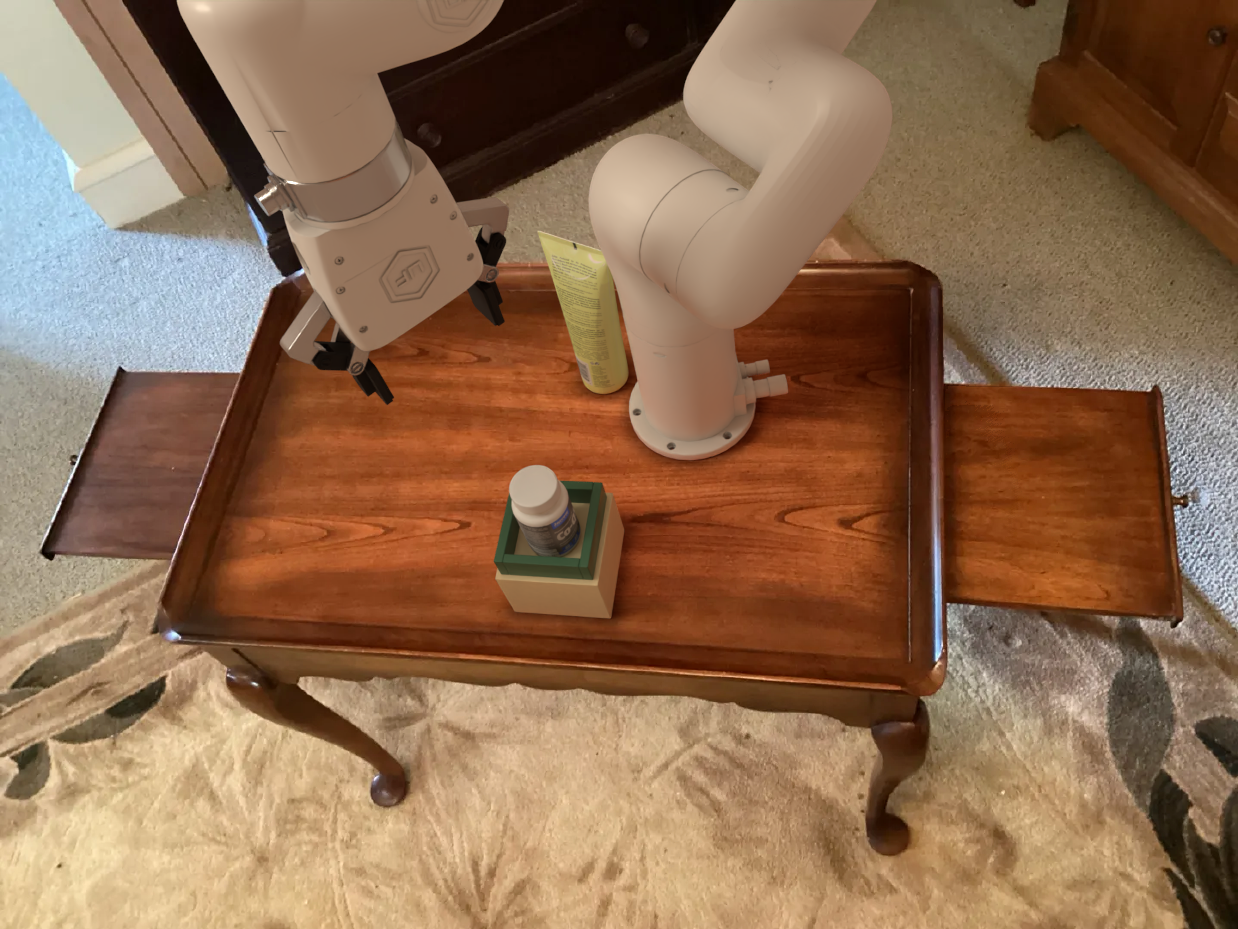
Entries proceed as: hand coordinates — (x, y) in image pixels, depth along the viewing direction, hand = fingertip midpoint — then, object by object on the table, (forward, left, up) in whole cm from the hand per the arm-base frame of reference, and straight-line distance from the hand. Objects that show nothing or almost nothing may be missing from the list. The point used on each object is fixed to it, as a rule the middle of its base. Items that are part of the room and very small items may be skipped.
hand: (436, 352), depth 69 cm
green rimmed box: (-4, +5, -28) cm, 28 cm away
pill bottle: (-4, +5, -21) cm, 22 cm away
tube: (-10, -17, -28) cm, 34 cm away
